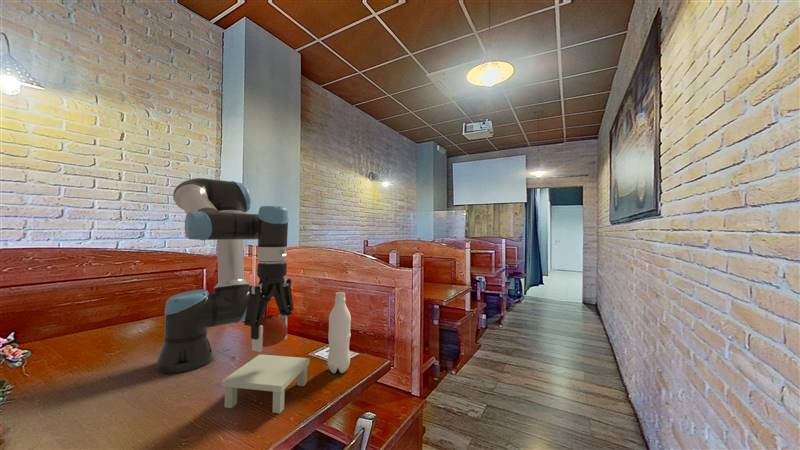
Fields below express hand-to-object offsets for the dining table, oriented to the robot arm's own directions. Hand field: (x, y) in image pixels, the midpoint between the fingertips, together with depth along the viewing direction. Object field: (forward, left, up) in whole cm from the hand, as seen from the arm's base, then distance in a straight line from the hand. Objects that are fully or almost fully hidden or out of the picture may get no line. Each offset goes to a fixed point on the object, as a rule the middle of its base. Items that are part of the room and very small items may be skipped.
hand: (270, 343), depth 82 cm
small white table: (0, 0, -14) cm, 14 cm away
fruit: (0, 0, 0) cm, 0 cm away
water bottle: (+11, +19, -14) cm, 26 cm away
